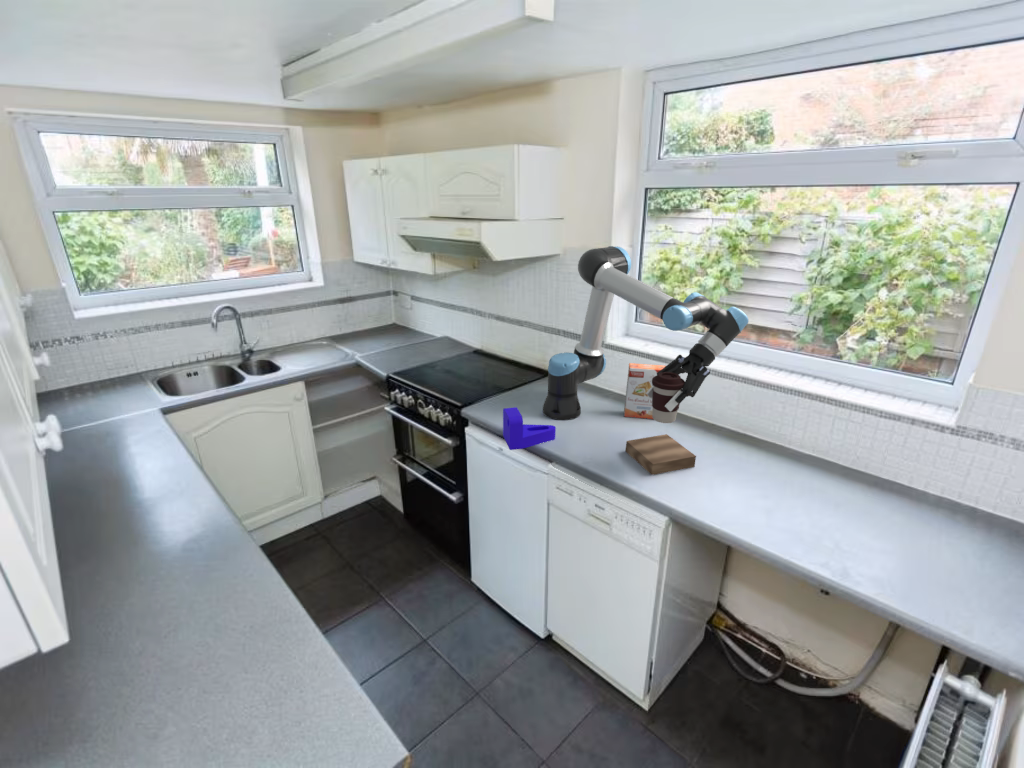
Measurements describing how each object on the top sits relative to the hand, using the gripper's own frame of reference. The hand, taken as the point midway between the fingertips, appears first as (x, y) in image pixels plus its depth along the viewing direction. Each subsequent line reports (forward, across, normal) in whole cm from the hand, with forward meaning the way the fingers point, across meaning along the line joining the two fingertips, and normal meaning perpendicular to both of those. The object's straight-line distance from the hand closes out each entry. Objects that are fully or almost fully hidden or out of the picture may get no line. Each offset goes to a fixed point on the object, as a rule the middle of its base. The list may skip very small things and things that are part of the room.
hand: (657, 402), depth 159 cm
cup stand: (+13, 0, -17) cm, 21 cm away
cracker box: (+4, +31, -26) cm, 41 cm away
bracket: (+38, +26, +8) cm, 47 cm away
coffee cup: (+2, 0, -7) cm, 7 cm away
